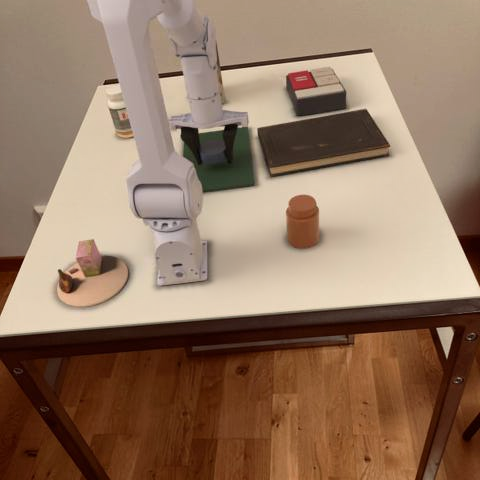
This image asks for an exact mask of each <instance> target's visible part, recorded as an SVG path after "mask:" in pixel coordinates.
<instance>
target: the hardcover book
mask: <svg viewBox="0 0 480 480" xmlns="http://www.w3.org/2000/svg"><path fill="white" fill-rule="evenodd" d="M256 130H257V139H258V141H259V144H260V147H261V151H262V154H263V158H264V161H265V164H266V167H267V171H268V174H269V177H270V178H274V177H279V176H285V175H291V174H296V173H302V172H308V171H314V170H318V169H324V168H330V167H335V166H341V165H347V164H353V163H358V162H365V161H369V160H376V159H381V158H386V157H387V158H388V157H390V153H389V148H391V144H390V143H389V141H388V140H387V138H386V137H385V135H384V134H383V132H382V130H381V129H380V128H379V126H378V125H377V122H376V121H375V119H374V118H373V117H372V115H371V113H370V112H369V111H368V108H362V109H356V110H355V109H354V110H350V111H344V112H339V113H333V114H328V115H322V116H316V117H310V118H305V119H300V120H294V121H288V122H281V123H278V124H277V123H276V124H272V125H266V126H261V127H257V128H256Z"/></svg>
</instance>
